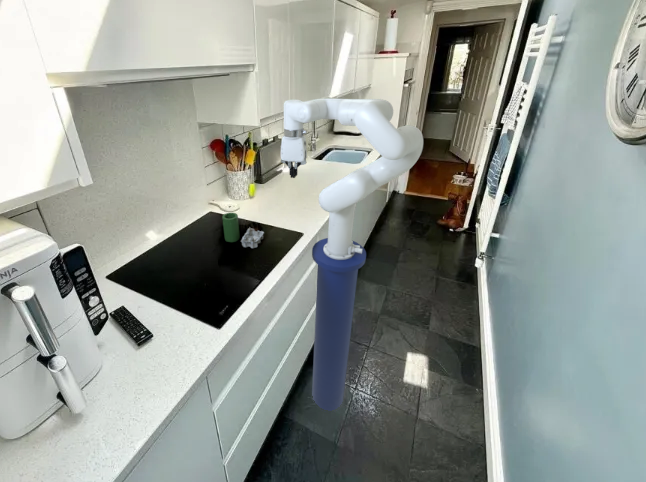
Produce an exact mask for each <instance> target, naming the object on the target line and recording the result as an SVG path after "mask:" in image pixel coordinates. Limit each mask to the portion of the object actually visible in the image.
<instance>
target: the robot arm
mask: <svg viewBox="0 0 646 482" xmlns="http://www.w3.org/2000/svg"><path fill="white" fill-rule="evenodd" d="M393 116H394V107H393V105H392V104H391V102H389V101H388V100H386V99H381V98H326V97H325V98H314V99H309V100H304V101H302V100H301V99H297V98H296V99H286V100H284V102H283V135H282V137H281V143H280V163H282V164H285V165H286V166H287V168H288V169H289V176H290V178H291V179H295V178H296V177H297V176H298V169H299V167H300V166H305V165H307V160H306V159H307V158H308V149H307V148H308V147H307V139H306V136H305V135H307V134H308V133H307V130H305V129H304V124H309V123H313V122H316V121H320V120H338V122H339V123H340V125H342V126H348V127H356V128H357V130H358V131H359V133H360V134H361V135H362V136H363V137H364V138H365V140H366V141H367V142H368V143H369V144H370V145H371V146H372V147H373V148H374V150H376V152H377V153H378V154H379V155H380V156H381V157H379V158H377V159H376V160H374V161H371V162H370V163H367V165H364V166H363V167H359V168H357V169H355V170H353V171H351V172H350V173H348V174H347V175H345V176H343V177H341V178H339V179H337V180H336V181H334V182H332V183H331V184H329V185H327V186H326V187H324V188H323V189H322V190H321V191H320V192H319V194H318V204H319V207H320V208H321V209H322V210H323V211H325V212H327V213H328V229H327V230H328V231H327V238H328V243H327V244H325V246H324V248H323V251H324V253H325V254H326V255H327V256H328V257H330V258H332V259H336V260H346V259H349V258H351V257H353V256H354V253H355V252H357V253H361V254H362V249H361V248H360V246H359V245H354V244H353V241H354V240H353V232H354V221H355V214H356V208H357V204H358V203H359V202H361V201H363V200H364V199H366V198H367V197H368V196H370V195H371V194H373V193H374V192H375V191H376V190H377V189H379V188H381V187H382V186H384V185H386V184H388V183H390V182H392V181H393V180H395V179H397V178H399V177H401V176H402V175H405V173H407V172H408V171H410V169H412V168H413V166H414V165H415V164H416V163H417V161H418V160H419V158H420V156H421V155H422V152H423V149H424V136H423V133H422V131H421V130H420V129H419V128H418V127H416V126H414V125H411V124H410V125H401V126H399V127H396V126H395V125H394V124H393V123H392V122H391V120H392V119H393Z"/></svg>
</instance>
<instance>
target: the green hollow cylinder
mask: <svg viewBox="0 0 646 482" xmlns="http://www.w3.org/2000/svg"><path fill="white" fill-rule="evenodd" d="M221 218H222V227H223V235H224V240H225V242H226V243H227V242H228V243H236V242H238V241H239V240H240V237H241V235H240V224H239V215H238V213H237V212H226V213H223V215H222V217H221Z"/></svg>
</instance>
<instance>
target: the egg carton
mask: <svg viewBox="0 0 646 482" xmlns="http://www.w3.org/2000/svg"><path fill="white" fill-rule="evenodd" d="M264 234H265V232H264V231H263V230H261V231H260V230H257V231H256V230H255V228H251V226H249V228H247V230H246V232H245V233H244V235H243V236H242V238H241V240H240V242H241V246H242V247H243V248H248V247H250V249H255V248H256V249H257V248H258V246H259V244H261V243H262V242H261V240H264Z"/></svg>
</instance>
